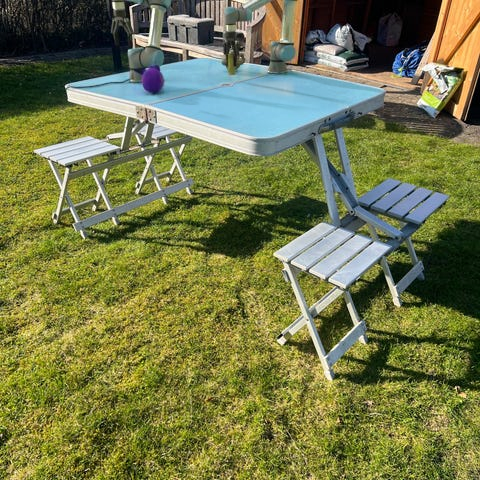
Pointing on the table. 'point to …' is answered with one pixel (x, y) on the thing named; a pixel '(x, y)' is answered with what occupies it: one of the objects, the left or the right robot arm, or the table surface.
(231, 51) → the teapot
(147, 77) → the toy
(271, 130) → the table surface
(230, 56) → the olive green upright cylinder
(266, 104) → the table surface
